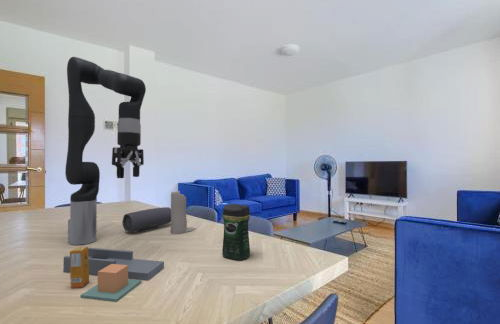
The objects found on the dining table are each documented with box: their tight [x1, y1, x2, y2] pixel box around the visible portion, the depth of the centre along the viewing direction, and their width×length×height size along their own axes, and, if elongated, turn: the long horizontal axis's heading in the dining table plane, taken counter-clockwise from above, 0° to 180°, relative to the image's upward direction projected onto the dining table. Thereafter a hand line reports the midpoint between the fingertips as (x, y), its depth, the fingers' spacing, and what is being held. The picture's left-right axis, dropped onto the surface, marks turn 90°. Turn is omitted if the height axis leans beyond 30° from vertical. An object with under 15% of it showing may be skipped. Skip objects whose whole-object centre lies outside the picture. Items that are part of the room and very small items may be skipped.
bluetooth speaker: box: [122, 206, 171, 233], centre depth 128 cm, size 23×9×10 cm, turn 144°
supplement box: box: [69, 246, 90, 289], centre depth 70 cm, size 3×3×10 cm
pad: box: [80, 279, 142, 303], centre depth 68 cm, size 10×10×1 cm
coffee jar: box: [221, 203, 251, 261], centre depth 92 cm, size 10×8×19 cm
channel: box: [63, 247, 165, 281], centre depth 80 cm, size 28×9×4 cm, turn 80°
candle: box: [170, 190, 197, 235], centre depth 126 cm, size 7×14×20 cm, turn 148°
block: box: [97, 264, 128, 293], centre depth 67 cm, size 5×5×5 cm
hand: (128, 177), depth 92 cm, fingers open, 8 cm apart
